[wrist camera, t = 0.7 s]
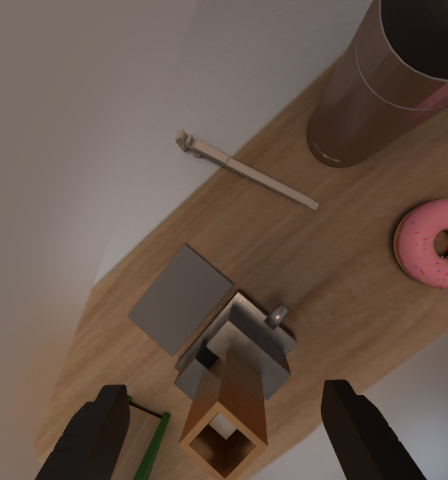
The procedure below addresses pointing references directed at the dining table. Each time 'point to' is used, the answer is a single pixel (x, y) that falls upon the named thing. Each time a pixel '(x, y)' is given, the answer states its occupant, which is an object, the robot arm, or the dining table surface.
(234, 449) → the copper collar
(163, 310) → the slate pad
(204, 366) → the grey slotted block
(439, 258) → the doughnut
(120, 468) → the hardback book
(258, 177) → the caliper
